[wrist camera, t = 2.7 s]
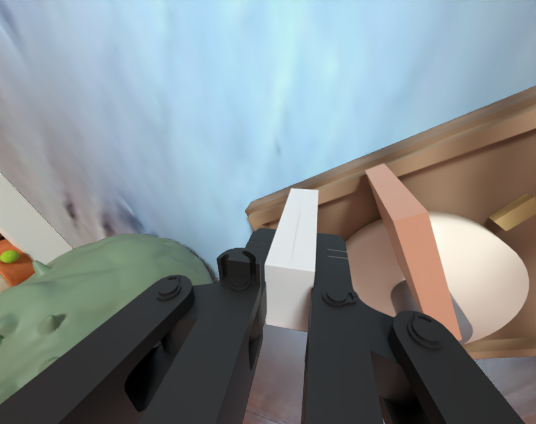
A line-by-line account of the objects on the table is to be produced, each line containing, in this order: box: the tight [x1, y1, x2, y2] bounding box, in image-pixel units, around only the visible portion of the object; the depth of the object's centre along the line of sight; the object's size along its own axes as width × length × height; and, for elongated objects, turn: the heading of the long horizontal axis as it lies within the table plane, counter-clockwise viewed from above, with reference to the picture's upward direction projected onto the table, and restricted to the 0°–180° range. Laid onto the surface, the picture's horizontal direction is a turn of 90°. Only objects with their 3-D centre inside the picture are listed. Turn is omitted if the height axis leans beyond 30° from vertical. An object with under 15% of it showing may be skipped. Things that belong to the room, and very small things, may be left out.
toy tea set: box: [0, 233, 35, 293], centre depth 33 cm, size 26×16×10 cm, turn 166°
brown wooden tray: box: [245, 86, 536, 359], centre depth 20 cm, size 22×22×3 cm
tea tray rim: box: [0, 173, 73, 265], centre depth 35 cm, size 23×33×4 cm
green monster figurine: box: [0, 234, 213, 404], centre depth 19 cm, size 16×19×20 cm
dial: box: [345, 163, 529, 345], centre depth 15 cm, size 18×13×8 cm
